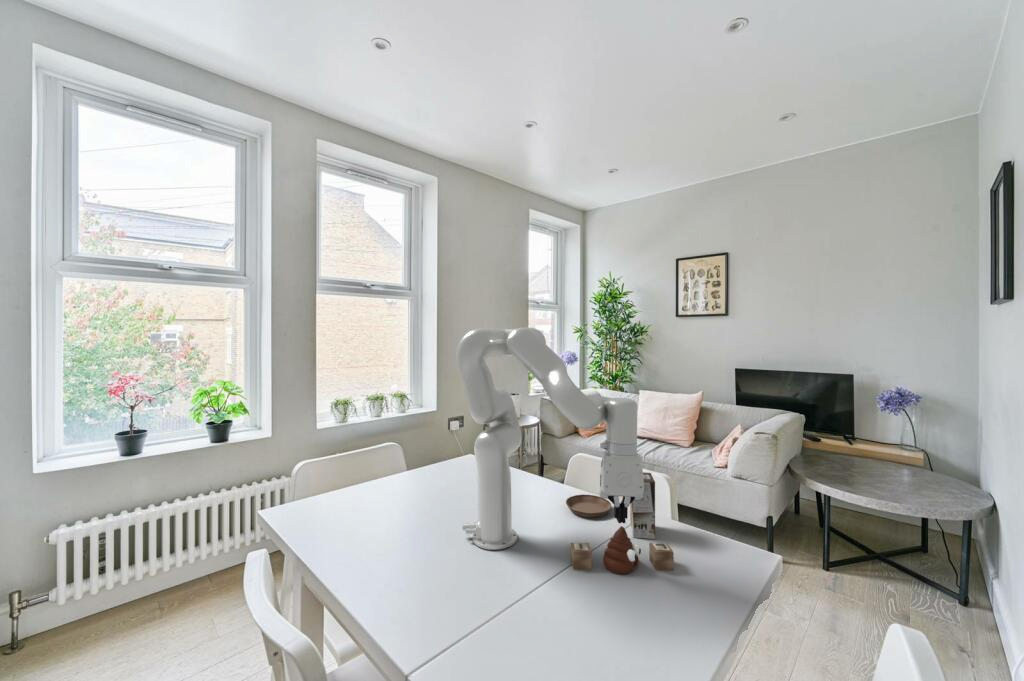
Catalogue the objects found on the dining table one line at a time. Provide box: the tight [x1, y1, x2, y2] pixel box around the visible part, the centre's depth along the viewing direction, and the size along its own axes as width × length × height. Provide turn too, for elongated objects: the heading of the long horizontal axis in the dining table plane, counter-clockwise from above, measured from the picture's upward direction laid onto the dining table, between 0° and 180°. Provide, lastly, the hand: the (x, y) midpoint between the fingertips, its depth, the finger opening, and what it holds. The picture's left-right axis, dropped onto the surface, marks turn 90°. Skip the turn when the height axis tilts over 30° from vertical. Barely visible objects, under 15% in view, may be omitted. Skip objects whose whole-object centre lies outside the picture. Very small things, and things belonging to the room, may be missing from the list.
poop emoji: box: [602, 525, 642, 575], centre depth 103 cm, size 10×8×9 cm
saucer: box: [565, 494, 612, 518], centre depth 137 cm, size 15×15×3 cm
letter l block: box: [648, 542, 675, 571], centre depth 103 cm, size 4×4×5 cm
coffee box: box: [629, 471, 656, 540], centre depth 121 cm, size 9×6×16 cm
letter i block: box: [570, 542, 592, 571], centre depth 104 cm, size 4×4×5 cm
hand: (620, 520), depth 104 cm, fingers closed
